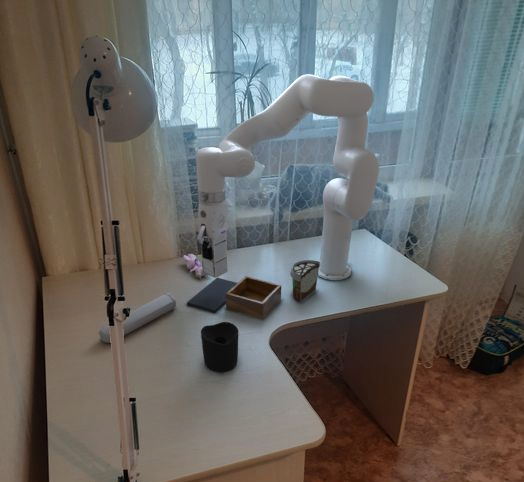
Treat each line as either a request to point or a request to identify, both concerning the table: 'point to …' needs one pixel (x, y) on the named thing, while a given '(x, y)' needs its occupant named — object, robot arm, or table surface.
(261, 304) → the open box
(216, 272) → the syrup box
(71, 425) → the table surface
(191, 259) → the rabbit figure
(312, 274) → the food container
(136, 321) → the tube
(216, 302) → the mat
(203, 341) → the pen holder
